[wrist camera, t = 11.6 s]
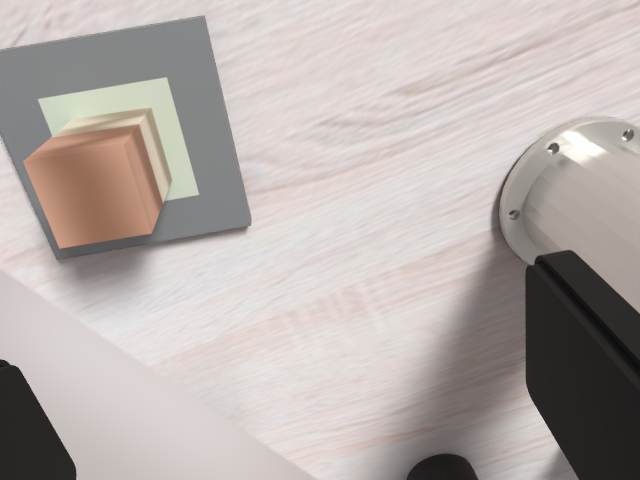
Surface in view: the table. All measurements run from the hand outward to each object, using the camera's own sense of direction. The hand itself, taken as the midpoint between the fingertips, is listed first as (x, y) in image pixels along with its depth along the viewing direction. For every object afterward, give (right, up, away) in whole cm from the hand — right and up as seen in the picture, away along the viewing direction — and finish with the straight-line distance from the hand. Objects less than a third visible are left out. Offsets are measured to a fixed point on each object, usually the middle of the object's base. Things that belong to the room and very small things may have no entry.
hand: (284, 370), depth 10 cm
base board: (-12, +9, +26) cm, 30 cm away
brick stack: (-12, +8, +25) cm, 29 cm away
